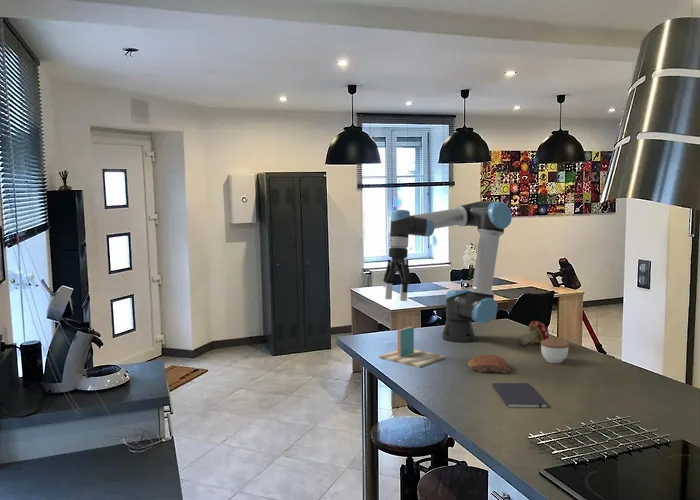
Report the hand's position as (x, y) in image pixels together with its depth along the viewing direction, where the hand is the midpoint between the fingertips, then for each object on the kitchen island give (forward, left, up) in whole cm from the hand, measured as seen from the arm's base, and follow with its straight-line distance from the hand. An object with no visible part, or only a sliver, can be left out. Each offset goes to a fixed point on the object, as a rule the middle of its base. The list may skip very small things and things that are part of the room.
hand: (395, 300), depth 238 cm
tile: (-4, -5, -18) cm, 19 cm away
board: (-6, -4, -25) cm, 26 cm away
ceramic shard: (-36, +4, -25) cm, 44 cm away
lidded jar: (-63, -11, -25) cm, 69 cm away
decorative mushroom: (-57, -39, -25) cm, 73 cm away
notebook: (-46, +35, -25) cm, 63 cm away
